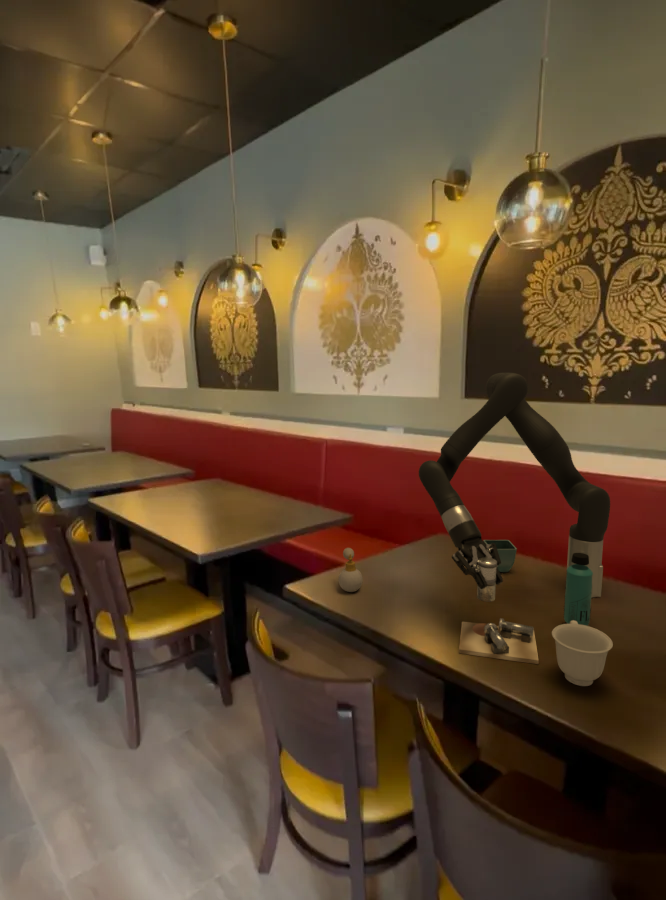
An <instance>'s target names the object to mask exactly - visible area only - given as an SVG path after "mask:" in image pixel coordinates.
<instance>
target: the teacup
mask: <svg viewBox="0 0 666 900" xmlns="http://www.w3.org/2000/svg"><path fill="white" fill-rule="evenodd" d="M551 636H552V638H553V639H554V642H555V652H556V661H557V664H558V667H559V669H560V670H561V672H563V673H564V677H565V679H566V680H567V681H568V682H569V683H572V684H573V685H576V686H580V687H588V686H592V684H593V683H594V681H595V680H597V679H598V678H600V677H601V675H602V673H603V672H604V669H605V664H606V660H607V655H608V653H609V651H610V650H611V649H613V645H614V644H613V643H614V642H613V640H612V639H611V638H610V636H608V635H607V634H606V633H605V632H603V631H602V630H599V629H597V628H596V627H595V628H594V627H592V626H590V625H588V626H586V625H580V624H578V623H577V621H574V620H573V621H570V624H568V623H563V624H562V623H561V624H559V625H556V626H555V627H554V628H553V629H552V631H551Z"/></svg>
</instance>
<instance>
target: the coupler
mask: <svg viewBox="0 0 666 900" xmlns="http://www.w3.org/2000/svg"><path fill="white" fill-rule="evenodd" d="M478 567H479V572H481V574H482V576H483V577H484V579H485V581H486V583H487V587H486V588H484V589H480V587H478V585H477V584H476V585H477V587H476V588H477V590H476V598H477V599H478V600H479V601H482V602H494V601H495V599H496V579H497V577H496V567H497V561H496V560H495V559H493V558H487V557H483V558H480V559H478Z"/></svg>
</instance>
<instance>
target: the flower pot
mask: <svg viewBox="0 0 666 900" xmlns="http://www.w3.org/2000/svg"><path fill="white" fill-rule="evenodd" d="M482 540H483V541H484V542H485V543H486V544H490V545H491V544H492V543H495V544H496V547H497V550H498V554H499V557H500V560H501V564H499V565H498V566H497V569H498V570H499V572H500V573H508V572H510V570H511V569H512V568H513V566H514V565H515V560H516V555H517V550H518V548H517V547H516V546H515V545H514V544H513V543H512V542H511V541H510V540H509V539H482ZM486 551H487V550H486Z"/></svg>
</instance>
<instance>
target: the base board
mask: <svg viewBox="0 0 666 900" xmlns="http://www.w3.org/2000/svg"><path fill="white" fill-rule="evenodd" d="M486 624H487V623H478V622H477V623H476V622H469V621H461V628H460V636H459V637H460V638H459V647H458V653H459V654H464V655H470V656H475V657H477V656H478V657H484V658H490V659H498V660H499V659H500V660H505V661H512V662H518V663H519V662H520V663H528V664H536V665H539V656H538V655H539V654H538V649H537V648H538V647H537V642H536V636H535V630H533V637H531V639H530V643H527V642H522V641H521V634H516V633H512V636H511V639H508V638H504V637H502V638H503V639H504V640H505V642H506V643H507V645H508V646H509V653H504V654H494V653H493V652H492V650H491V644H487V643H486V641H485V640H484V639H485V632H484V627H485V625H486ZM496 626H497V627H498V629H499V625H496ZM498 632H499V630H498ZM499 633H500V635H501V636H502V632H499Z"/></svg>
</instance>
